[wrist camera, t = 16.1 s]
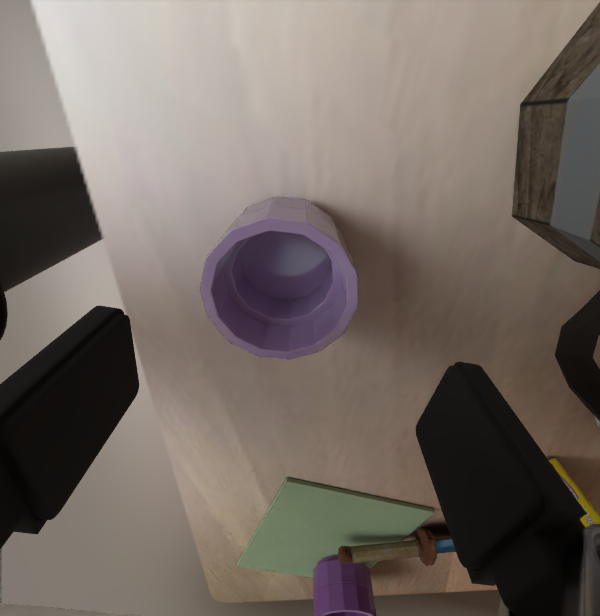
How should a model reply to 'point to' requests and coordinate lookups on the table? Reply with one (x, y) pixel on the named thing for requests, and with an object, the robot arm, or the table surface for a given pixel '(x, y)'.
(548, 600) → the robot arm
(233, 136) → the table surface
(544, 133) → the mug
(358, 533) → the placemat
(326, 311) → the lilac dish
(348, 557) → the knife
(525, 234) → the table surface
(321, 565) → the plum dish
